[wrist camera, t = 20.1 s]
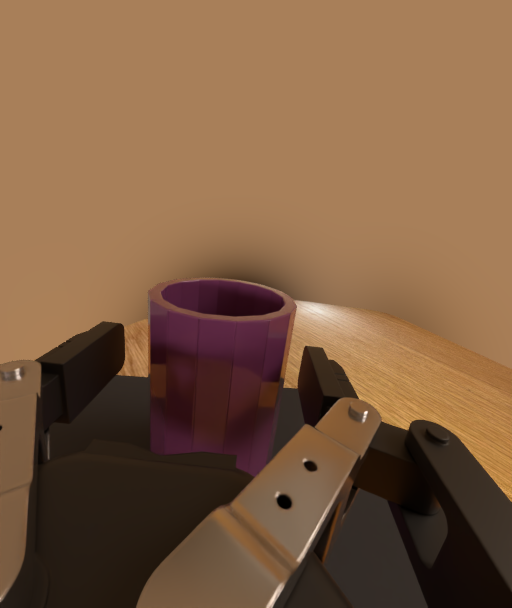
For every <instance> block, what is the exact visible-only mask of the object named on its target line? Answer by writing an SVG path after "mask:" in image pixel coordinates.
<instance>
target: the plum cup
mask: <svg viewBox="0 0 512 608" xmlns="http://www.w3.org/2000/svg"><path fill="white" fill-rule="evenodd" d="M296 308H297V306H296V304H295V302H294V300H293V299H292V298H291V297H290V296H288V295H286V294H284V293H283V292H281V291H279V290H276V289H273V288H270V287H267V286H264V285H260V284H256V283H251V282H246V281H240V280H232V279H222V278H186V279H176V280H171V281H168V282H163V283H159V284H157V285H156V286H154V287H153V288H152V289H150V290H149V291H148V403H149V451H152V452H154V453H157V454H160V455H171V454H181V453H190V452H200V451H204V452H212V453H221V454H230V455H237V460H236V468H238V469H241V470H243V471H245V472H247V473H249V474H251V475H252V476H254V477H255V476H256V475H257V474H258V473H259V472H260V471H261V470H262V469H263V468H264V467H265V466H266V465H267V464H268V463H269V462H270V461H271V455H272V449H273V444H274V438H275V432H276V426H277V420H278V414H279V408H280V402H281V397H282V391H283V385H284V379H285V373H286V367H287V361H288V355H289V350H290V344H291V338H292V332H293V326H294V320H295V314H296Z"/></svg>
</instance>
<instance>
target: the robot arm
mask: <svg viewBox="0 0 512 608" xmlns="http://www.w3.org/2000/svg"><path fill="white" fill-rule="evenodd" d="M124 361H125V337H124V326H123V325H122V324H121V323H112V322H101V323H100V324H98V325H97V326H95V327H93V328H92V329H90V330H89V331H86V332H84V333H80V334H78V335H75V336H73V337H72V338H70V339H69V340H67V341H66V342H64V343H62V344H61V345H59V346H58V347H56V348H54V349H52V350H51V351H49V352H48V353H46V354H44V355H43V356H41V357H40V358H38V359H36V360H35V361H33V360H19V361H12V362H8V363H4V364H0V608H354V607H353V606H352V604H351V603H350V601H349V600H348V599H347V597H346V596H345V594H344V593H343V592H342V590H341V589H340V588H339V586H338V585H337V583H336V582H335V581H334V579H333V578H332V576H331V575H330V574H329V572H328V571H327V569H326V568H325V567H326V565H327V562H328V560H329V558H330V555H331V552H332V550H333V547H334V544H335V542H336V539H337V537H338V535H339V532H340V530H341V528H342V526H343V524H344V522H345V520H346V517H347V515H348V513H349V511H350V509H351V507H352V505H353V502H354V500H355V498H356V496H357V494H358V492H359V489H362V490H365V491H367V492H369V493H372V494H374V495H377V496H379V497H382V498H384V499H386V500H387V502H388V505H389V507H390V510H391V512H392V515H393V518H394V520H395V523H396V525H397V528H398V531H399V533H400V536H401V538H402V541H403V544H404V546H405V549H406V551H407V554H408V557H409V559H410V562H411V564H412V567H413V570H414V572H415V575H416V577H417V580H418V583H419V585H420V588H421V591H422V593H423V596H424V598H425V601H426V604H427V606H428V608H512V502H511V501H510V500H509V499H508V497H507V496H506V495H505V494H504V493H503V491H502V490H501V489H500V488H499V487H498V485H497V484H496V483H495V482H494V480H493V479H492V478H491V477H490V476H489V474H488V473H487V472H486V471H485V470H484V468H483V467H482V466H481V465H480V464H479V462H478V461H477V460H476V459H475V457H474V456H473V455H472V454H471V453H470V451H469V450H468V449H467V448H466V447H465V445H464V444H463V443H462V442H461V440H460V439H459V438H458V437H457V436H456V435H454V434H453V433H452V432H450V431H449V430H447V429H446V428H444V427H442V426H440V425H438V424H436V423H433V422H430V421H426V420H415V421H413V422H412V423H411V424H410V427H409V430H405V429H401V428H398V427H395V426H392V425H389V424H387V423H384V422H382V421H381V416H380V414H379V412H378V411H377V410H376V409H375V408H374V407H373V406H371V405H370V404H368V403H366V402H364V401H362V400H359V398H358V396H357V394H356V392H355V390H354V389H353V387H352V385H351V383H350V382H349V379H348V377H347V376H346V374H345V372H344V370H343V368H342V367H341V366H340V365H339V364H338V363H337V362H335V361H334V360H328V358H327V356H326V354H325V352H324V350H323V348H320V347H311V346H305V348H304V351H303V356H302V361H301V366H300V372H299V377H298V393H299V398H300V403H301V408H302V413H303V418H304V423H305V425H304V426H303V427H302V428H301V429H300V430H299V431H298V432H297V433H296V434H295V435H294V436H293V437H292V438H291V439H290V440H289V442H288V443H287V444H286V445H285V446H284V447H283V448H282V449H281V450H280V451H279V452H278V453H277V454H276V455H275V456H274V457H273V458H272V460H271V461H270V462H269V463H268V464H267V465H266V466H265V467H264V468H263V469H262V470H261V471H260V472H259V473H258V474H257V475H256V476H255V477H254V476H252V475H251V474H249V473H247V472H245V471H243V470H241V469H238V468H236V460H237V455H230V454H221V453H212V452H204V451H200V452H190V453H181V454H171V455H160V454H157V453H154V452H152V451H149V450H146V449H143V448H141V447H138V446H135V445H133V444H130V443H124V442H115V441H106V440H97V439H93V440H92V442H91V443H90V444H89V446H88V447H87V448H86V450H85V451H81V452H75V453H70V454H66V455H63V456H59V457H56V458H54V459H51V434H50V427H49V426H50V425H51V424H52V423H53V422H56V423H64V424H70V423H71V422H72V421H73V420H74V419H75V418H76V417H77V416H78V415H79V414H80V413H81V412H82V411H83V409H84V408H85V407H86V406H87V405H88V404H89V403H90V402H91V401H92V400H93V399H94V398H95V397H96V396H97V395H98V394H99V392H100V391H101V390H102V389H103V388H104V387H105V386H106V385H107V384H108V383H109V382H110V381H111V380H112V379H113V378H114V377H115V375H116V374H117V373H118V372H119V371H120V370H121V369H122V367H123V364H124Z"/></svg>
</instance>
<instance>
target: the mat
mask: <svg viewBox="0 0 512 608" xmlns="http://www.w3.org/2000/svg"><path fill="white" fill-rule="evenodd" d="M304 425H305V423H304V418H303V413H302V408H301V403H300V398H299V393H298V389H294V388H283V391H282V397H281V402H280V408H279V414H278V420H277V426H276V432H275V438H274V444H273V449H272V455H271V460H272V458H273V457H274V456H275V455H276V454H277V453H278V452H279V451H280V450H281V449H282V448H283V447H284V446H285V445H286V444H287V443H288V442H289V440H290V439H291V438H292V437H293V436H294V435H295V434H296V433H297V432H298V431H299V430H300V429H301V428H302V427H303V426H304ZM49 427H50V434H51V459H54V458H56V457H59V456H63V455H66V454H70V453H75V452H81V451H85V450H86V448H87V447H88V446H89V444H90V443H91V442H92V440H93V439H97V440H106V441H115V442H124V443H130V444H133V445H135V446H138V447H141V448H143V449H146V450H149V403H148V377H134V376H121V375H115V377H114V378H113V379H112V380H111V381H110V382H109V383H108V384H107V385H106V386H105V387H104V388H103V389H102V390H101V391H100V392H99V394H98V395H97V396H96V397H95V398H94V399H93V400H92V401H91V402H90V403H89V404H88V405H87V406H86V407H85V408H84V409H83V411H82V412H81V413H80V414H79V415H78V416H77V417H76V418H75V419H74V420H73V421H72V422H71V423H70V424H64V423H56V422H53V423H52V424H51V425H50V426H49ZM325 568H326V569H327V571H328V572H329V574H330V575H331V576H332V578H333V579H334V581H335V582H336V583H337V585H338V586H339V588H340V589H341V590H342V592H343V593H344V594H345V596H346V597H347V599H348V600H349V601H350V603H351V604H352V606H353V607H354V608H428V606H427V604H426V601H425V598H424V596H423V593H422V591H421V588H420V585H419V583H418V580H417V577H416V575H415V572H414V570H413V567H412V564H411V562H410V559H409V557H408V554H407V551H406V549H405V546H404V544H403V541H402V538H401V536H400V533H399V531H398V528H397V525H396V523H395V520H394V518H393V515H392V512H391V510H390V507H389V505H388V502H387V500H386V499H384V498H382V497H379V496H377V495H374V494H372V493H369V492H367V491H365V490H362V489H359V492H358V494H357V496H356V498H355V500H354V502H353V505H352V507H351V509H350V511H349V513H348V515H347V517H346V520H345V522H344V524H343V526H342V528H341V530H340V532H339V535H338V537H337V539H336V542H335V544H334V547H333V550H332V552H331V555H330V558H329V560H328V562H327V565H326V567H325Z"/></svg>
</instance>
